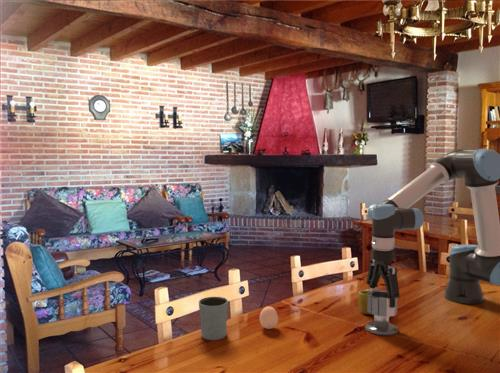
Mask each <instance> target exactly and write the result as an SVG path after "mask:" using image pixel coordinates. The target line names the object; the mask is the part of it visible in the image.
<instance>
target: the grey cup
mask: <svg viewBox="0 0 500 373" xmlns="http://www.w3.org/2000/svg"><path fill="white" fill-rule="evenodd" d="M228 306H229V300H228V299H227V298H225V297H223V296H208V297H204V298H203V297H202V298H201V299H199V300H198V308H199V316H200V332H201V337H202V338H203V339H204V340H207V341H217V340H218V341H219V340H222V339H224V338H226V336H227V331H228V330H227V328H228V327H227V322H228V321H227V320H228V308H229V307H228Z"/></svg>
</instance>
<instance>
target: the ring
mask: <svg viewBox="0 0 500 373" xmlns="http://www.w3.org/2000/svg"><path fill="white" fill-rule="evenodd" d="M387 297H388V294H387V290H379V289H378V290H375V291H370V292H368V299H367V311H368V312H369V313H370V314H373V315H372V316H374V315H377V316H384V317H386V306H387ZM397 314H398V298H395V316H396V315H397Z"/></svg>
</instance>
